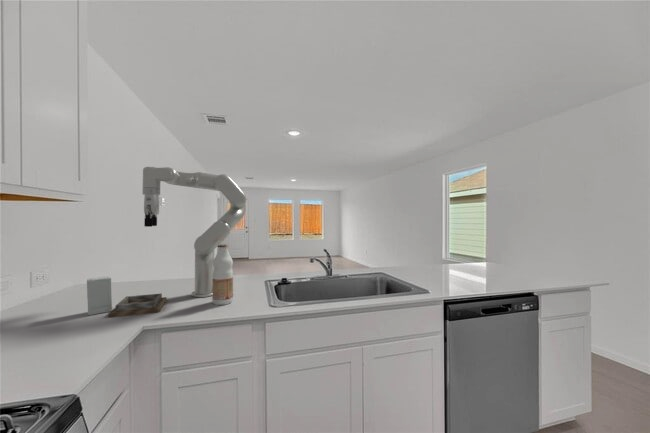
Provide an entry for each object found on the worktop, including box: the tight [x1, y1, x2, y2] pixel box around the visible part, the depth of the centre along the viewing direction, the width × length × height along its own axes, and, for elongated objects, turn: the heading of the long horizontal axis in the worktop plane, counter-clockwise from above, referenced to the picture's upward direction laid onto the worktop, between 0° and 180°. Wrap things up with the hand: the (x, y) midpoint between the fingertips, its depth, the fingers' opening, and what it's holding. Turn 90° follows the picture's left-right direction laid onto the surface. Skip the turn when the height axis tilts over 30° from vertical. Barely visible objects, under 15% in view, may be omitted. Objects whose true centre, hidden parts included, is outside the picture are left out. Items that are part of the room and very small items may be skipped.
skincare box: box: [86, 275, 113, 316], centre depth 119 cm, size 8×6×15 cm
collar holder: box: [108, 292, 168, 318], centre depth 124 cm, size 18×18×4 cm
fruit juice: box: [211, 243, 234, 306], centre depth 133 cm, size 9×9×28 cm
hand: (150, 226), depth 138 cm, fingers open, 9 cm apart
